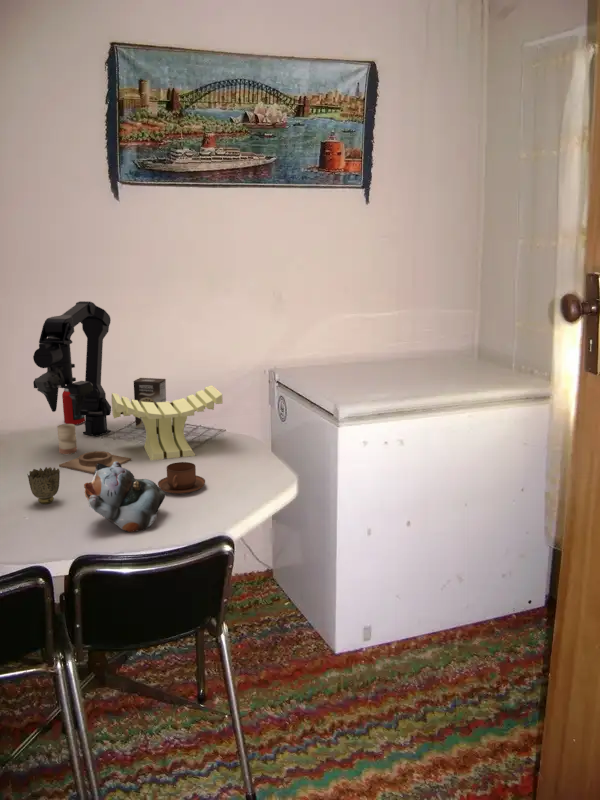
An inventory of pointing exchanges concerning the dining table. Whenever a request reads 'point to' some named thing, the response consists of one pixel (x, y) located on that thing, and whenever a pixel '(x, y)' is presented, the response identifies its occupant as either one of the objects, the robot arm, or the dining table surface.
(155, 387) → the coffee box
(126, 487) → the lucky cat figurine
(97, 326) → the robot arm
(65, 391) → the beverage can
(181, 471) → the cup and saucer
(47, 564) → the dining table surface
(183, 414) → the slatted curved stool
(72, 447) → the beige rounded peg
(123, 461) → the walnut socket
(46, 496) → the cup
